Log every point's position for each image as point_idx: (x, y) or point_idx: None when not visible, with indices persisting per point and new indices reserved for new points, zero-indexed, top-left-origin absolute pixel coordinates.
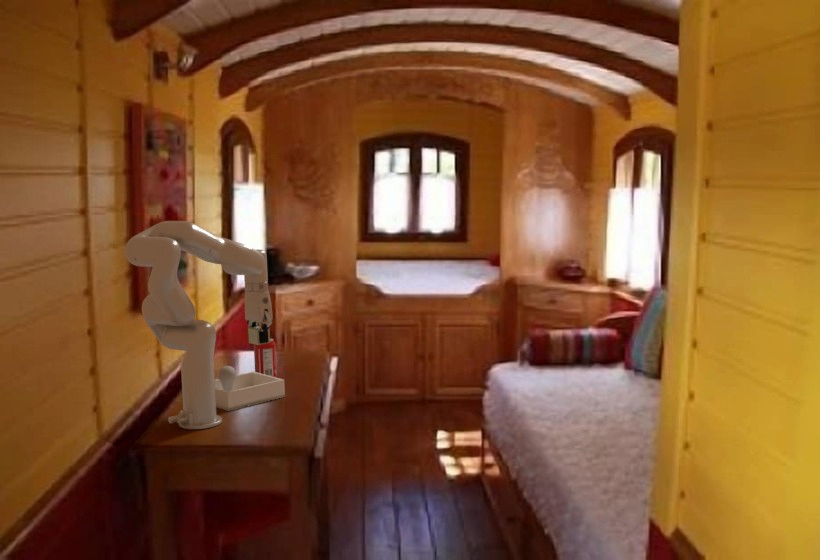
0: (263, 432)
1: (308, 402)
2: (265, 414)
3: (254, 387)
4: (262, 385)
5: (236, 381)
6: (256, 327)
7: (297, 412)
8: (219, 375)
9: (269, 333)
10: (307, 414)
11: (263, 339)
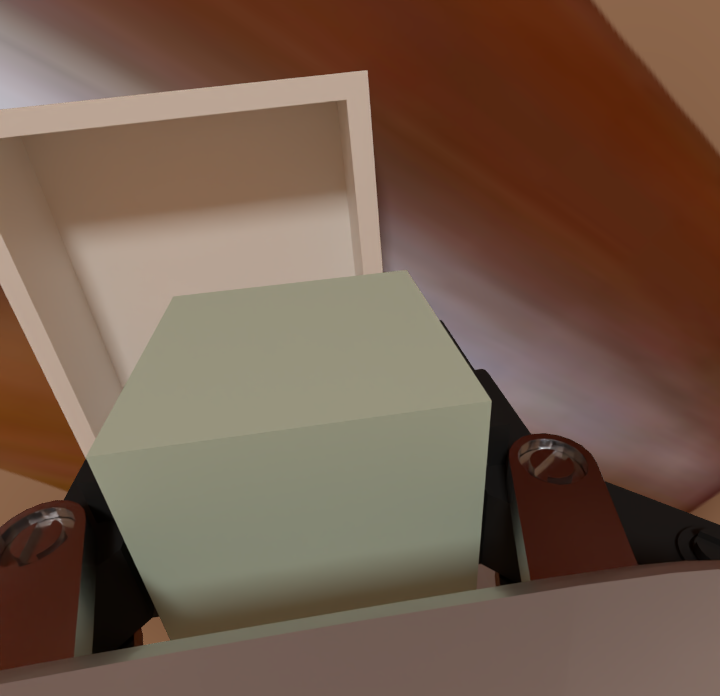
0: (693, 411)
1: (554, 27)
2: (538, 318)
3: None
4: (380, 267)
5: (46, 281)
6: (239, 578)
7: (636, 193)
8: None
9: (444, 336)
10: (699, 174)
11: None
